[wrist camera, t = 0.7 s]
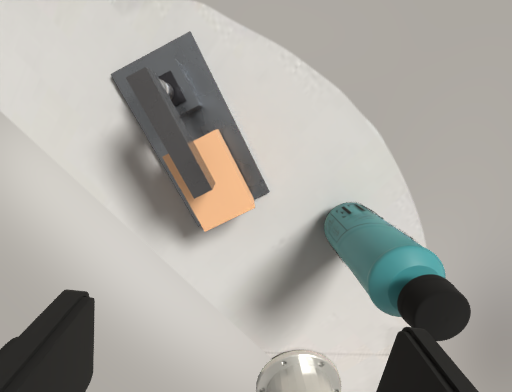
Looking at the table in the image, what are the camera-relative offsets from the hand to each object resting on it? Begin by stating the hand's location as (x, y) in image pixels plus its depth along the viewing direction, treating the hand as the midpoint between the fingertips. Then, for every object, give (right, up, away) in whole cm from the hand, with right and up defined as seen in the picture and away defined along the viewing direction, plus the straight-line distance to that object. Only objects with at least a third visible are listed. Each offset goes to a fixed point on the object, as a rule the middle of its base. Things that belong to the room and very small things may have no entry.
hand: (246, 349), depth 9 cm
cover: (-5, +7, +25) cm, 27 cm away
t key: (-7, +11, +22) cm, 25 cm away
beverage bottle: (+12, +1, +30) cm, 32 cm away
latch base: (-7, +12, +26) cm, 29 cm away
